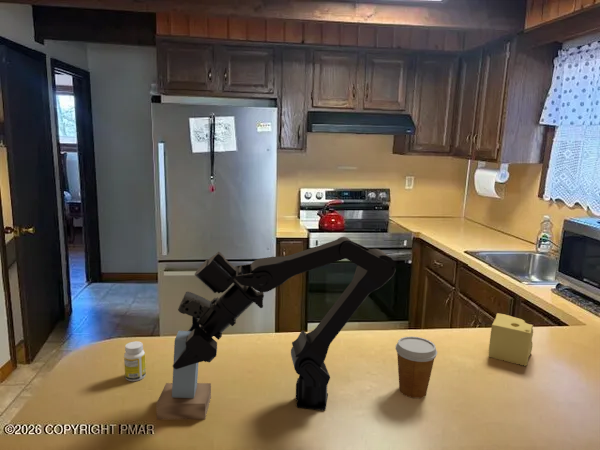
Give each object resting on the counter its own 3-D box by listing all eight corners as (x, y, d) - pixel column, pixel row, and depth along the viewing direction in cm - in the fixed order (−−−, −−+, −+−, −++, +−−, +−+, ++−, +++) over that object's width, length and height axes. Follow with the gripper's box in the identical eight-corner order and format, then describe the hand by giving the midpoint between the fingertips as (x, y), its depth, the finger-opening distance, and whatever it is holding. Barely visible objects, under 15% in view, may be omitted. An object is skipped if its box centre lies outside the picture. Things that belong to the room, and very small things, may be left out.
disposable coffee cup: (406, 376, 113) (409, 332, 111) (440, 392, 107) (445, 345, 105) (384, 390, 107) (387, 343, 105) (419, 407, 100) (424, 357, 98)
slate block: (196, 386, 99) (200, 331, 97) (193, 398, 95) (197, 341, 93) (175, 385, 99) (178, 330, 97) (171, 397, 94) (174, 339, 92)
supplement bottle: (139, 369, 113) (137, 338, 111) (149, 376, 110) (148, 344, 108) (121, 377, 109) (119, 345, 108) (131, 384, 106) (130, 351, 105)
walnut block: (211, 399, 102) (210, 383, 101) (205, 420, 94) (205, 403, 93) (166, 399, 101) (166, 383, 101) (156, 420, 93) (156, 403, 93)
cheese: (531, 353, 129) (535, 320, 127) (527, 368, 120) (531, 333, 118) (492, 343, 134) (496, 312, 132) (486, 357, 125) (489, 323, 123)
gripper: (205, 268, 102) (156, 315, 102) (197, 296, 84) (138, 353, 84) (240, 300, 104) (192, 346, 105) (239, 334, 86) (182, 389, 87)
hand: (177, 356), depth 95 cm, fingers open, 9 cm apart
